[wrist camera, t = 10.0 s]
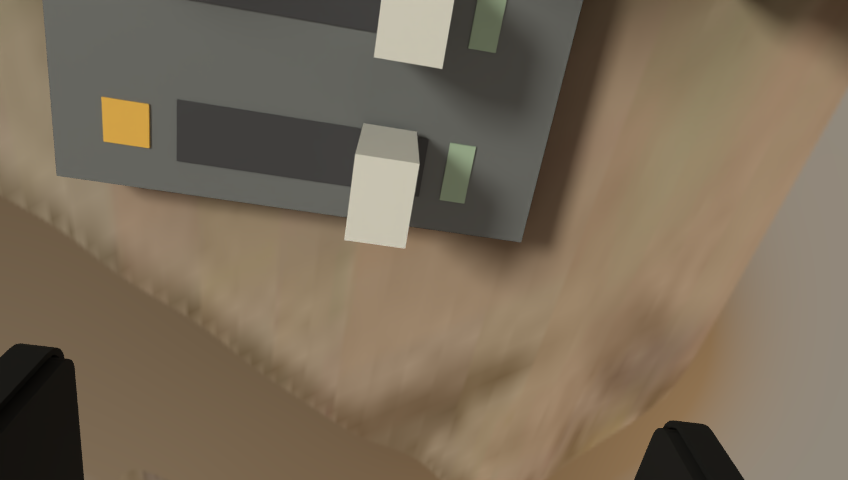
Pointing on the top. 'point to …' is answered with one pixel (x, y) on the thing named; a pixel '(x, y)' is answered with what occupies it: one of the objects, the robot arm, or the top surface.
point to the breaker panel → (306, 101)
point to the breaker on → (414, 31)
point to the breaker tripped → (383, 186)
